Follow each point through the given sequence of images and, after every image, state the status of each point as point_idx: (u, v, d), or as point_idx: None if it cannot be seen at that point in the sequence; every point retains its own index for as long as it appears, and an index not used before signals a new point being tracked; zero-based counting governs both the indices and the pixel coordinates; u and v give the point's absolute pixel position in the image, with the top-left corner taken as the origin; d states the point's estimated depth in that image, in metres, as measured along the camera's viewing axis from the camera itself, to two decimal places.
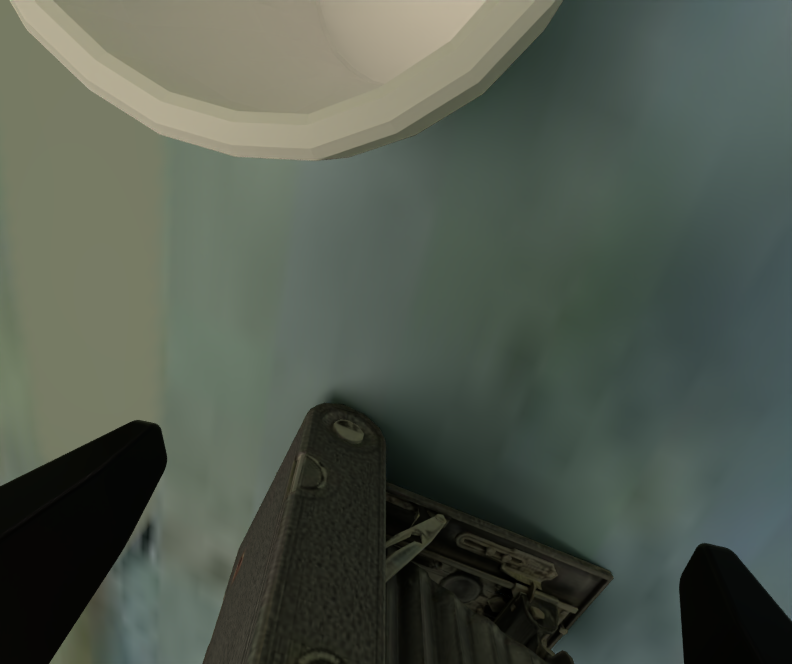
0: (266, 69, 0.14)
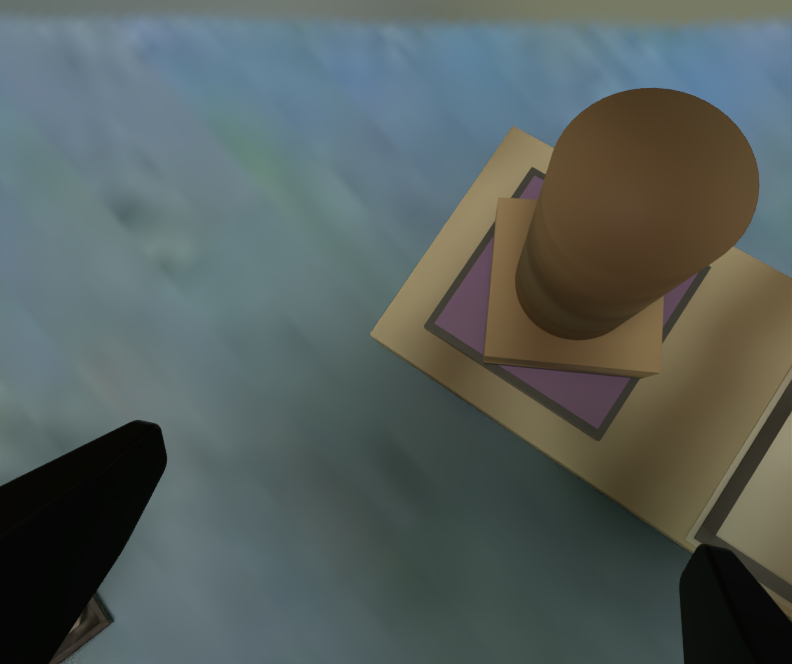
0: None
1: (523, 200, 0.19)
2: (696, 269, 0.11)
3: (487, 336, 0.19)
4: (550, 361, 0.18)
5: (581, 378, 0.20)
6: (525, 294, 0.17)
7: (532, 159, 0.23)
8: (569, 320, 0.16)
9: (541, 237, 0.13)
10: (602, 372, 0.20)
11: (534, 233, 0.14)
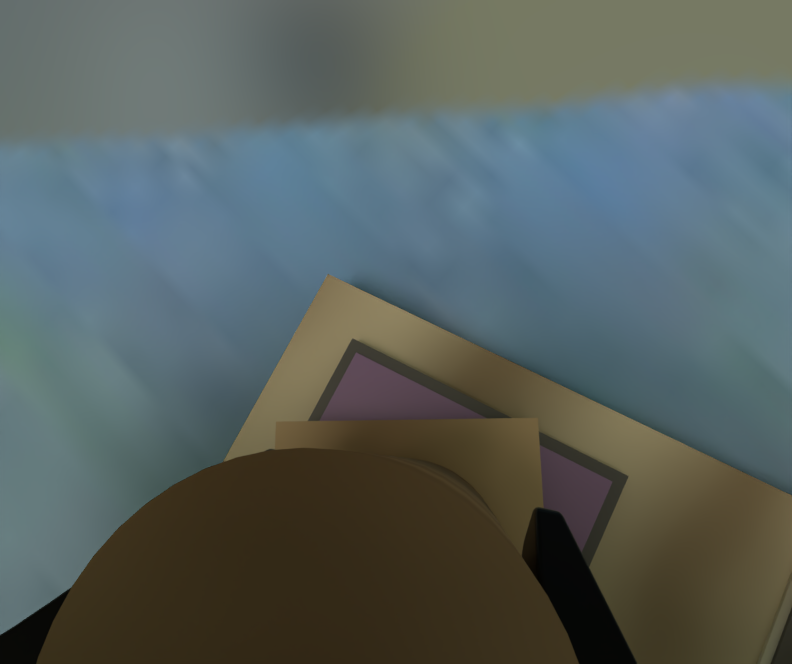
0: None
1: (315, 424, 0.12)
2: None
3: None
4: None
5: None
6: None
7: (358, 321, 0.16)
8: None
9: None
10: None
11: None
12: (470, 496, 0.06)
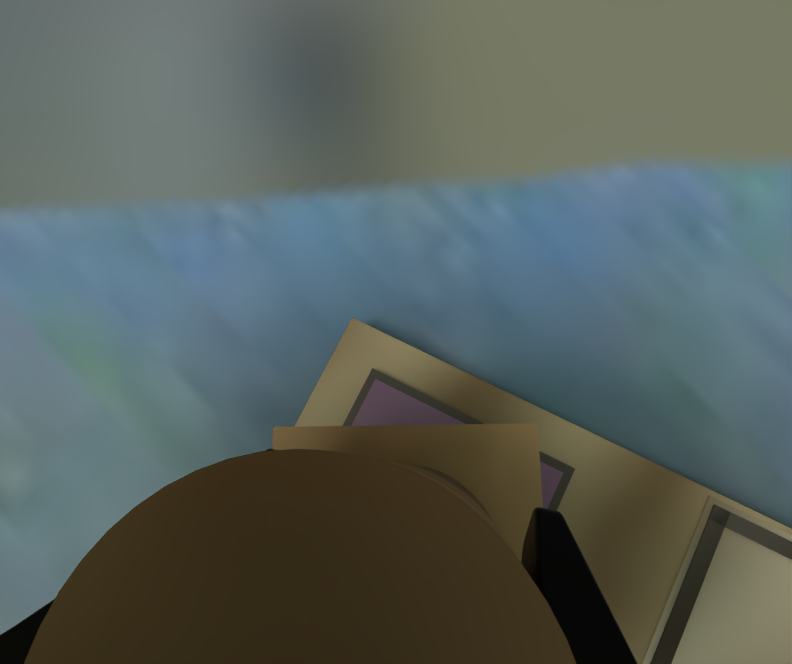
0: None
1: (312, 429, 0.12)
2: None
3: None
4: None
5: None
6: None
7: (375, 354, 0.21)
8: None
9: None
10: None
11: None
12: (468, 500, 0.06)
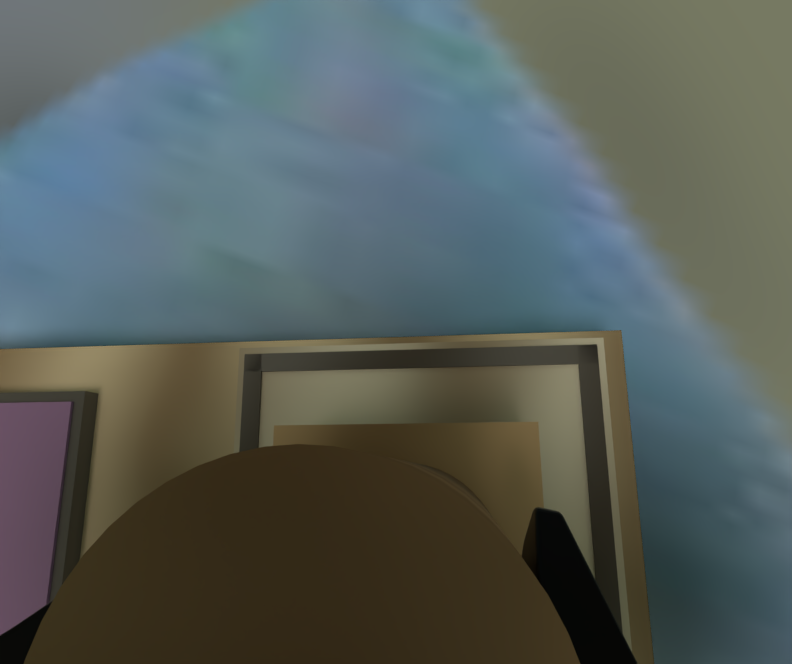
0: None
1: (313, 428, 0.12)
2: None
3: None
4: None
5: None
6: None
7: None
8: None
9: None
10: None
11: None
12: (469, 497, 0.06)
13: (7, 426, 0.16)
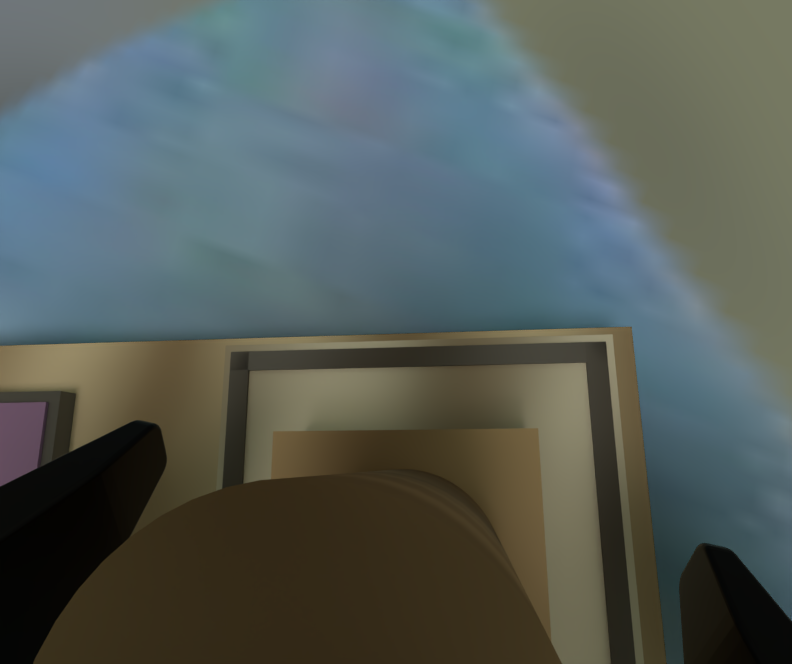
0: None
1: (312, 433, 0.12)
2: None
3: None
4: None
5: None
6: None
7: None
8: None
9: None
10: None
11: None
12: (468, 519, 0.06)
13: None
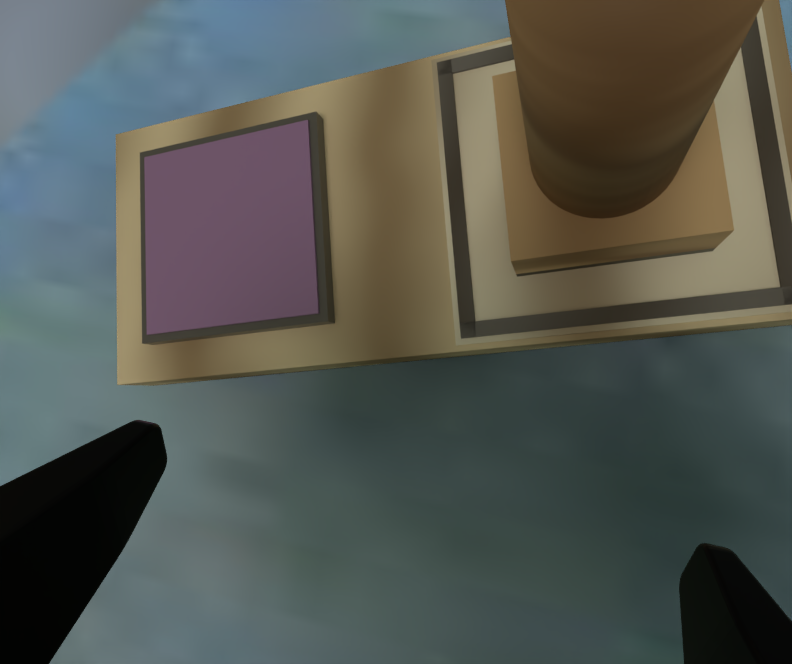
0: None
1: None
2: (730, 14, 0.07)
3: (510, 237, 0.16)
4: (591, 248, 0.15)
5: (281, 283, 0.20)
6: (540, 171, 0.14)
7: (145, 146, 0.23)
8: (595, 182, 0.13)
9: (521, 62, 0.10)
10: (661, 251, 0.16)
11: (516, 68, 0.11)
12: None
13: (262, 148, 0.21)
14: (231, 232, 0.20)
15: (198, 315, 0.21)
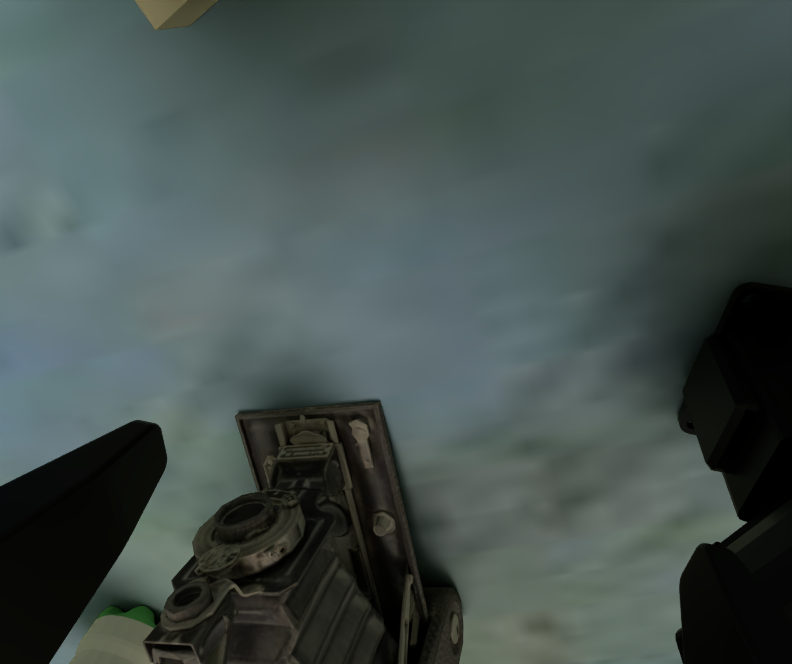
0: None
1: None
2: None
3: None
4: None
5: None
6: None
7: None
8: None
9: None
10: None
11: None
12: None
13: None
14: None
15: None
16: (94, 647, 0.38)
